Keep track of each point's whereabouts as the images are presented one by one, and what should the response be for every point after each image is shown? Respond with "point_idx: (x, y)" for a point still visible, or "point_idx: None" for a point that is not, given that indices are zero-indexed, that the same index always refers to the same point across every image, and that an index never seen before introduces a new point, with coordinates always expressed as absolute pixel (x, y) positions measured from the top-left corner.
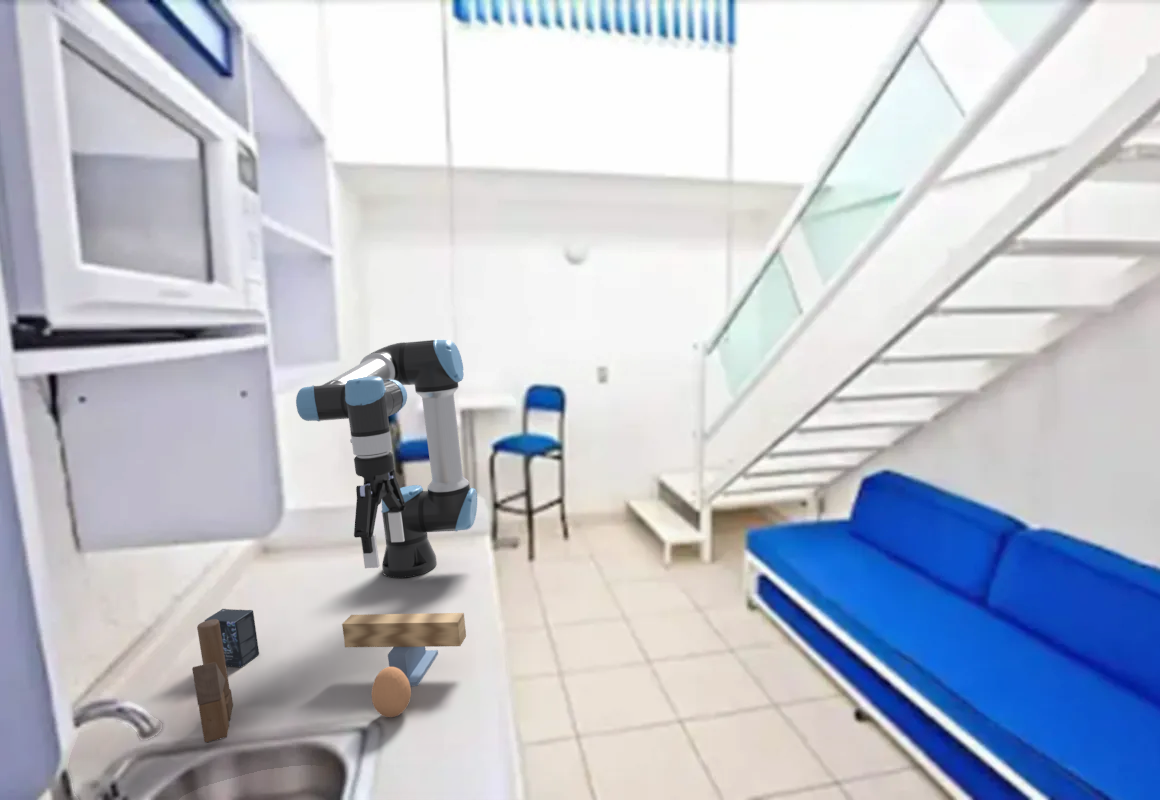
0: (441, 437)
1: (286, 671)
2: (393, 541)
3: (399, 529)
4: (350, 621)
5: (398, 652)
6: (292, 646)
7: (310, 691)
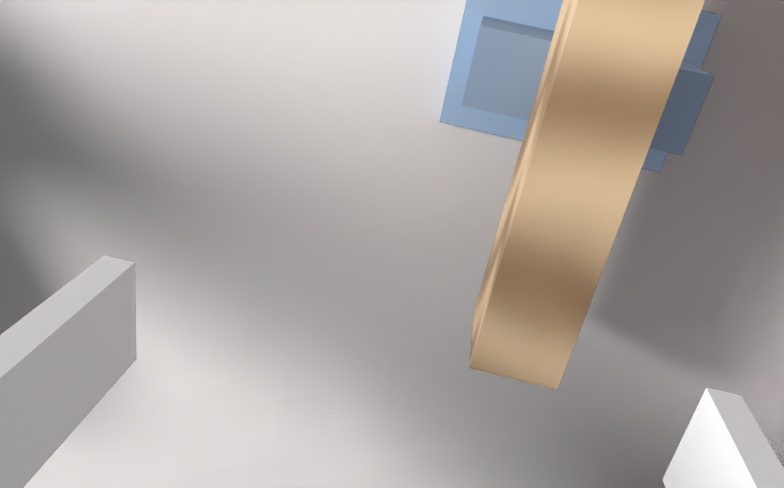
0: None
1: (462, 448)
2: (133, 345)
3: (58, 351)
4: (543, 361)
5: (680, 109)
6: (312, 460)
7: (607, 368)
